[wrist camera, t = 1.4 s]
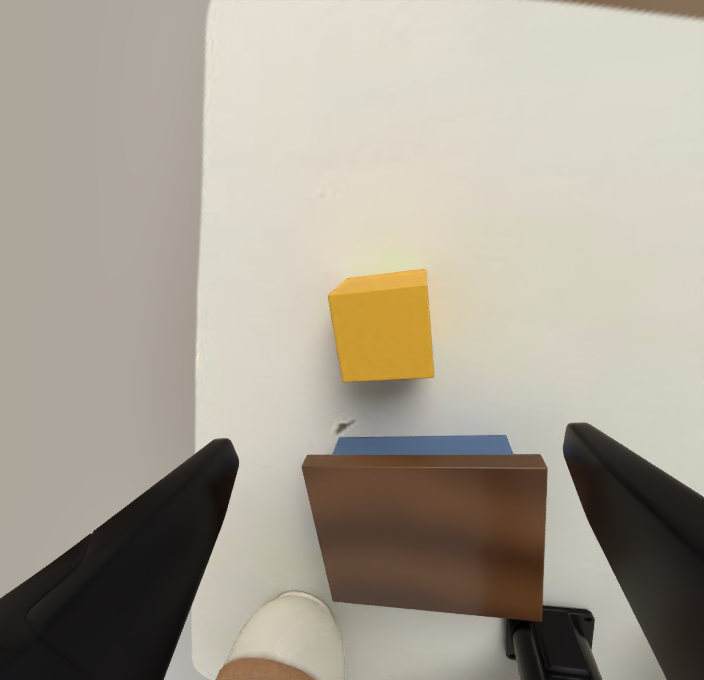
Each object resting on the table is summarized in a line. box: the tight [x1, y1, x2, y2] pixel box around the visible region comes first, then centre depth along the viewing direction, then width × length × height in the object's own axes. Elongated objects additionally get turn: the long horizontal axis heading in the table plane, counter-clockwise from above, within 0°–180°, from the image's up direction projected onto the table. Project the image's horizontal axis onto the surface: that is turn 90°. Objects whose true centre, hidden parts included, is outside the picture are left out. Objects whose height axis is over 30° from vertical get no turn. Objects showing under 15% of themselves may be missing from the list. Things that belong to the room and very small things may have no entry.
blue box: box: [333, 435, 513, 455], centre depth 25 cm, size 9×12×4 cm
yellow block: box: [328, 269, 434, 382], centre depth 20 cm, size 5×5×5 cm
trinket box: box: [216, 591, 346, 680], centre depth 30 cm, size 11×11×9 cm
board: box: [302, 454, 548, 622], centre depth 22 cm, size 12×14×1 cm
